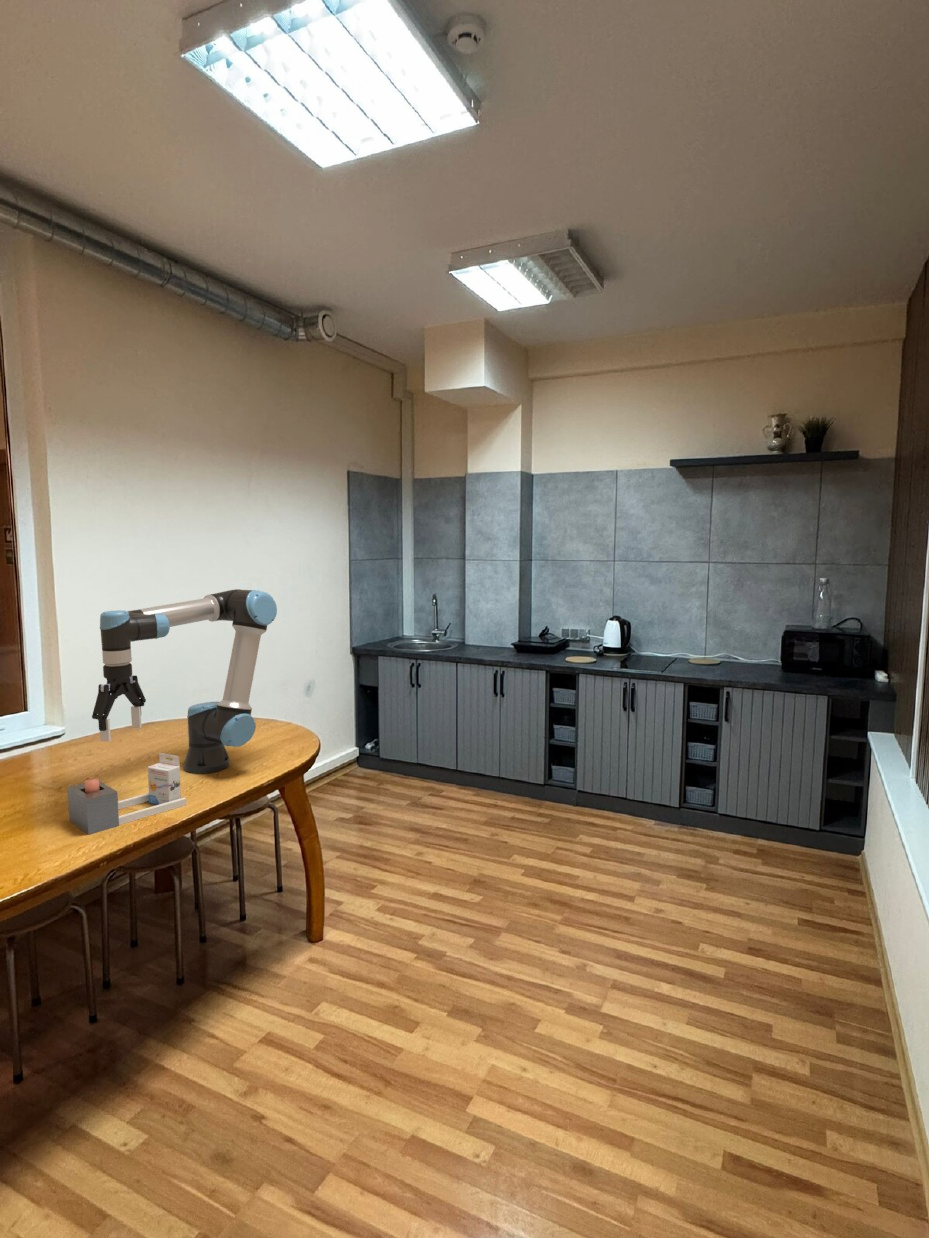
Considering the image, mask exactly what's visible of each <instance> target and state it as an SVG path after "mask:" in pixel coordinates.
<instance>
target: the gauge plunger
mask: <svg viewBox="0 0 929 1238" xmlns="http://www.w3.org/2000/svg"><path fill="white" fill-rule="evenodd" d="M99 781H100V779H99V778H89V779H86V780H84V783H85V793H86V794H88V793H92V792H96V791H100V789H99Z"/></svg>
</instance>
